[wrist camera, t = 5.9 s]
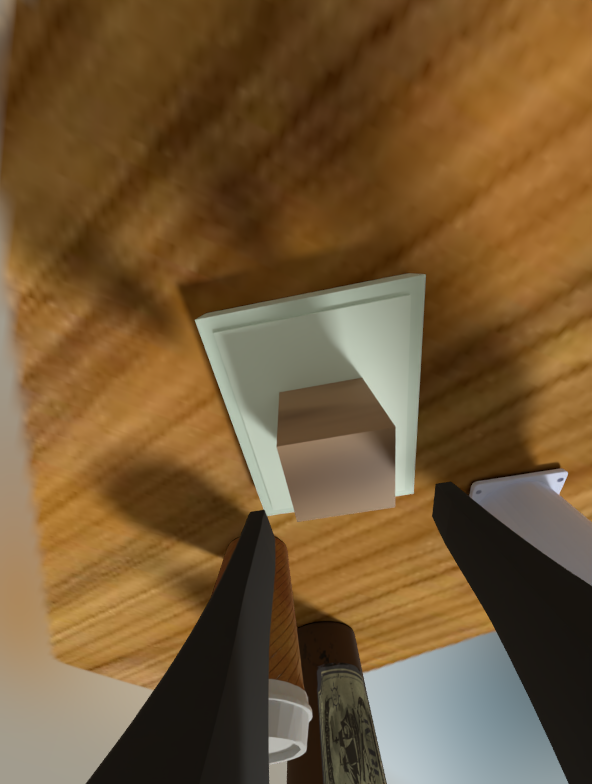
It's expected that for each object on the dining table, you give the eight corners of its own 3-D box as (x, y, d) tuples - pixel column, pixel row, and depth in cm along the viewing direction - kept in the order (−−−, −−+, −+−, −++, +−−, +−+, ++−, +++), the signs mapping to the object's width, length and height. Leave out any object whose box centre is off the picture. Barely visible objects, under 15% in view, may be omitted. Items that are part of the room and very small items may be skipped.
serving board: (402, 474, 21) (414, 495, 19) (267, 495, 22) (265, 518, 20) (408, 273, 14) (428, 274, 12) (205, 313, 15) (193, 320, 13)
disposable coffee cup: (199, 528, 24) (128, 743, 13) (297, 517, 24) (307, 727, 13) (223, 580, 28) (185, 773, 17) (306, 572, 28) (319, 762, 17)
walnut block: (366, 443, 17) (395, 507, 12) (294, 455, 17) (297, 522, 13) (362, 377, 15) (395, 426, 10) (279, 392, 15) (276, 446, 10)
